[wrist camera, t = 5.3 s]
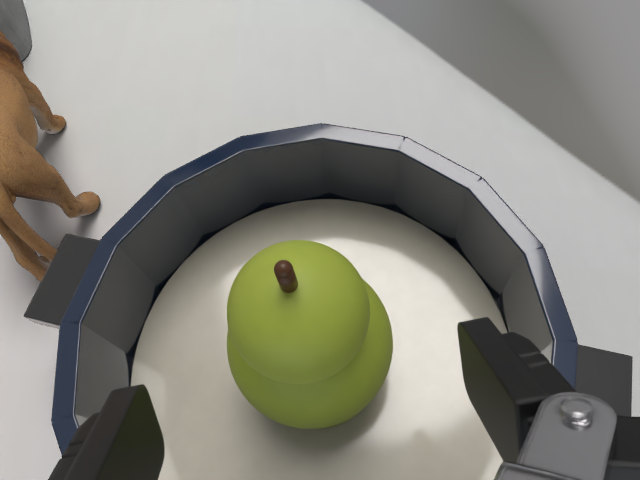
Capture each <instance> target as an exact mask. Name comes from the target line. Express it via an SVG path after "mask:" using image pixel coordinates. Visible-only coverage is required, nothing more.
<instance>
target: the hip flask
mask: <svg viewBox="0 0 640 480" xmlns="http://www.w3.org/2000/svg"><path fill="white" fill-rule="evenodd" d="M0 31H1V32H2V33H3V34H4V35H5V36H6V39H7V40H9V41H10V42H11V43H12V44H13V46H14V47H15V49H16V50H17V52H18V53H19V56H20V60H21V61H22V60H24V59H25V58H26V56H27V55H28V53H29V52H30V49H31V36H30V29H29V23H28V18H27V15H26V11H25V7H24V4H23V1H22V0H0Z"/></svg>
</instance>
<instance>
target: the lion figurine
mask: <svg viewBox="0 0 640 480" xmlns="http://www.w3.org/2000/svg"><path fill="white" fill-rule="evenodd" d="M23 68H24V67H23V64H22V62H21V60H20V56H19V53H18V52H17V50H16V49H15V47H14V46H13V44H12V43H11V42H10V41H9V40H7V39H6V36H5V35H4V34H3V33H2V32H1V31H0V234H1V236H2V237H3V238H4V239H5V241H6V242H7V244H8V245H9V247H10V248H11V250H12V252H13V254H14V256H15V259H16V261H17V262H18V263H19V264H20V265H21V266H22V267H23V268H25V269H26V270H28V271H29V272H31V273H32V274H33V275H34V276H35V277H36V279H37V280H39V281H42V279H43V277H44V275H45V273H46V271H47V269H48V267H49V266H50V264H51V262H52V260H53V258H54V256H55V254H56V252H57V250H56V249H55V248H53V247H52V246H51V245H50V244H48V243H47V242H46V241H45V240H44V239H42V238H41V237H40V236H39V235H38V234H37V233H36V232H35V231H34V230H33V229H32V228H31V227H30V226H29V225H28V224H27V223H26V222H25V221H24V220H23V218H22V217H21V216H20V214H19V213H18V212H17V211H16V209H15V208H14V205H13V204H14V202H15V201H16V197H23V198H28V199H34V200H40V201H46V202H51V203H54V204H56V205H58V206H60V207H61V208H62V210H63V211H64V213H65V214H66V215H67V216H68V217H69V218H75V217H79V216H84V215H89V214H92V213H93V212H95V211H96V210H97V208H98V206H99V204H100V199H99V196H98V195H96V194H95V193H93V192H83V193H81V194H80V195H78V196H77V197H75V196H74V195H73V194H72V193H71V191H70V190H69V188H68V187H67V185H66V183H65V182H64V180H63V179H62V177H61V176H60V174H59V173H58V172H57V171H56V169H55V168H54V167H53V166H51V165H50V164H48V163H47V161H46V160H45V159H44V158H43V157H42V155H41V154H40V153H39V152H38V151H37V150H35V147H36V144H37V141H38V135H37V127H36V122H35V118H36V120H37V123H38V125H39V127H40V129H42V130H44V131H45V132H46V133H48V134H56V133H58V132H60V131H61V130H62V129H63V128H64V126H65V123H66V122H65V119H64V118H63V117H62V116H58V115H53V114H52V112H51V110H50V108H49V106H48V104H47V103H46V101H45V99H44V98H43V96H42V94H41V92H40V90H39V89H38V88H37V86H36V85H34V84H33V83H32V82H31V81H29V79H28V77H27V76H26V74H25V73H24V71H23ZM34 117H35V118H34ZM35 251H36V252H38V253H39V254H41V255H42V256H40V257H39V256H38V255H37V253H36V252H35Z"/></svg>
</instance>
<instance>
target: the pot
mask: <svg viewBox="0 0 640 480" xmlns="http://www.w3.org/2000/svg"><path fill="white" fill-rule="evenodd" d="M290 240H307V241H314V242H318V243H321V244H324V245H326V246H329V247H331V248H332V249H334V250H336V251H338V252H339V253H340V254H342V255H343V256H344V257H346V258H347V259H348V260H349V261H350V262H351V263H352V265H353V266H354V267H355V268H356V270H357V271H358V273H359V274H360V276H361V278H362V279H364V280H365V281H366V282H367V283H368V284H369V285H370V286H371V287H372V289H373V290H374V291H375V292H376V294H377V295H378V297H379V298H380V300H381V302H382V303H383V305H384V307H385V309H386V311H387V314H388V316H389V320H390V324H391V329H392V336H393V353H392V360H391V364H390V368H389V371H388V374H387V376H386V379H385V381H384V383H383V385H382V387H381V389H380V390H379V392H378V393H377V395H376V396H375V397H374V398H373V400H372V401H371V402H370V403H369V404H368V405H367V406H366V407H365V408H364V409H363V410H362V411H360V412H359V413H358V414H357V415H356V416H354V417H353V418H352V419H350V420H348V421H346V422H344V423H342V424H340V425H337V426H334V427H329V428H323V429H300V428H294V427H289V426H286V425H283V424H280V423H278V422H276V421H274V420H272V419H270V418H268V417H266V416H265V415H263V414H262V413H260V412H259V411H258V410H256V409H255V408H254V407H253V406H252V405H251V404H250V403H249V402H248V401H247V399H246V398H245V397H244V396H243V394H242V393H241V391H240V390H239V388H238V386H237V384H236V383H235V381H234V378H233V376H232V373H231V370H230V366H229V362H228V355H227V333H228V323H227V301H228V296H229V293H230V289H231V286H232V284H233V282H234V279H235V278H236V276H237V274H238V272H239V271H240V270H241V268H242V267H243V266H244V265H245V264H246V263H247V262H248V261H249V260H250V259H251V258H252V257H253V256H254V255H255V254H257V253H258V252H260V251H261V250H263V249H265V248H267V247H269V246H271V245H273V244H276V243H279V242H284V241H290ZM543 247H544V246H543V245H542V243H541V242H540V241H539V240H538V239H537V238H536V237H535V236H534V234H533V233H532V232H531V231H530V230H529V229H528V228H527V227H526V225H525V224H524V223H523V222H522V221H521V220H520V219H519V218H518V216H517V215H516V214H515V213H514V212H513V211H512V210H511V209H510V207H509V206H508V205H507V204H506V203H505V202H504V201H503V200H502V198H501V197H500V196H499V195H498V194H497V193H496V192H495V191H494V189H493V188H492V187H491V186H490V185H489V184H488V183H487V182H486V180H485V179H484V178H482V177H481V176H479V175H477V174H475V173H474V172H472V171H470V170H468V169H466V168H464V167H462V166H460V165H459V164H457V163H455V162H453V161H451V160H449V159H447V158H445V157H444V156H442V155H440V154H438V153H436V152H434V151H432V150H430V149H428V148H427V147H425V146H423V145H421V144H419V143H417V142H415V141H413V140H412V139H410V138H408V137H405V136H400V135H393V134H387V133H381V132H374V131H368V130H362V129H355V128H349V127H343V126H336V125H330V124H322V123H320V124H314V125H308V126H301V127H295V128H289V129H283V130H277V131H271V132H264V133H258V134H252V135H246V136H241V137H238V138H236V139H234V140H232V141H230V142H228V143H226V144H224V145H222V146H220V147H218V148H216V149H215V150H213V151H211V152H209V153H207V154H205V155H203V156H201V157H199V158H197V159H195V160H193V161H191V162H189V163H187V164H185V165H183V166H181V167H179V168H177V169H175V170H173V171H171V172H169V173H167V174H165V176H163V177H162V178H161V179H160V180H159V181H158V182H157V183H156V184H155V185H154V186H153V187H152V188H151V189H150V190H149V191H148V192H147V193H146V194H145V195H144V196H143V197H142V198H141V199H140V200H139V201H138V202H137V203H136V204H135V205H134V206H133V207H132V208H131V209H130V210H129V211H128V212H127V213H126V214H125V215H124V216H123V217H122V218H121V219H120V220H119V221H118V222H117V223H116V224H115V225H114V226H113V227H112V228H111V229H110V230H109V231H108V232H107V233H106V234H105V235H104V236H103V237H102V239H101V240H100V241H99V240H95V239H90V238H85V237H81V236H76V235H72V234H66V235H65V237H64V238H63V240H62V242H61V244H60V246H59V248H58V250H57V252H56V254H55V256H54V258H53V260H52V262H51V264H50V266H49V267H48V269H47V271H46V273H45V275H44V277H43V279H42V281H41V283H40V285H39V287H38V289H37V291H36V293H35V295H34V296H33V298H32V300H31V302H30V304H29V306H28V308H27V310H26V312H25V314H24V317H25V318H27V319H29V320H31V321H32V322H34V323H37V324H41V325H45V326H49V327H53V328H57V329H60V330H59V341H58V352H57V363H56V374H55V385H54V396H53V408H52V419H51V422H52V426H53V429H54V432H55V435H56V438H57V441H58V445H59V448H60V451H61V454H62V455H63V453H64V451H65V449H66V448H67V447H68V446H69V443H70V441H71V439H72V437H73V436H74V434H75V432H76V430H77V429H78V428H79V427H80V426H81V425H82V424H83V423H84V422H85V421H86V420H87V419H88V418H89V417H90V416H92V415H93V414H95V413H100V411H101V409H102V407H103V405H104V404H105V402H106V400H107V398H108V396H109V394H110V393H111V391H112V390H115V389H120V388H125V387H130V386H135V385H140V384H143V385H145V386H146V388H147V390H148V392H149V395H150V398H151V401H152V404H153V407H154V410H155V413H156V416H157V419H158V422H159V425H160V428H161V431H162V434H163V438H164V446H165V456H164V462H163V465H162V468H161V471H160V474H159V478H158V480H494V478H495V475H496V473H497V471H498V469H499V467H500V465H501V463H502V462H503V460H502V458H501V456H500V454H499V452H498V451H497V449H496V447H495V445H494V443H493V442H492V440H491V438H490V436H489V434H488V432H487V431H486V429H485V427H484V425H483V423H482V422H481V420H480V418H479V416H478V414H477V412H476V411H475V409H474V407H473V405H472V403H471V401H470V399H469V397H468V394H467V391H466V388H465V384H464V379H463V372H462V364H461V356H460V348H459V340H458V331H457V325H458V323H459V322H463V321H468V320H473V319H478V318H483V317H488V318H489V319H490V320H491V321H492V322H493V324H494V325H495V326H496V327H497V328H498V330H499V331H500V332H501V333H502V334H504V333H509V332H515V333H517V334H519V335H521V336H523V337H525V338H527V339H530V340H531V341H532V342H533V343H534V344H535V346H536V347H537V348H538V349H539V350H540V351H541V354H544V356H545V357H546V358H547V359H548V360H549V362H550V363H552V365H553V366H554V367H555V368H556V369H557V370H558V371H559V372H560V373H561V375H562V376H563V377H564V378H565V379H566V380H567V381H568V382H569V384H570V385H571V386H572V387H573V388H574V389H575V390H576V391H577V392H578V393H585V394H589V395H592V396H595V397H598V398H600V399H602V400H603V401H605V402H607V403H608V404H609V405H610V406H611V407H612V408H613V409H614V411H615V413H616V415H620V416H629V417H631V401H632V356H628V355H624V354H619V353H615V352H610V351H605V350H601V349H596V348H592V347H587V346H582V345H578V342H577V337H576V334H575V331H574V329H573V326H572V323H571V320H570V317H569V315H568V312H567V309H566V306H565V304H564V301H563V298H562V295H561V292H560V290H559V287H558V284H557V281H556V278H555V276H554V273H553V270H552V267H551V264H550V262H549V259H548V256H547V253H546V251H545V248H543ZM493 298H494V299H493ZM494 300H495V301H496V302H497V305H496V303H495V301H494ZM497 306H498V307H497Z"/></svg>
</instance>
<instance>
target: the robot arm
mask: <svg viewBox="0 0 640 480" xmlns="http://www.w3.org/2000/svg"><path fill="white" fill-rule="evenodd" d="M457 331H458V340H459V348H460V356H461V364H462V372H463V379H464V384H465V388H466V391H467V394H468V397H469V399H470V401H471V403H472V405H473V407H474V409H475V411H476V412H477V414H478V416H479V418H480V420H481V422H482V423H483V425H484V427H485V429H486V431H487V432H488V434H489V436H490V438H491V440H492V442H493V443H494V445H495V447H496V449H497V451H498V452H499V454H500V456H501V458H502V460H503V462H502V463H501V465H500V467H499V469H498V471H497V473H496V475H495V478H494V480H640V417H629V416H620V415H616V413H615V411H614V409H613V408H612V407H611V406H610V405H609V404H608V403H607V402H605V401H603V400H602V399H600V398H598V397H595V396H592V395H589V394H585V393H578V392H577V391H576V390H575V389H574V388H573V387H572V386H571V385H570V384H569V382H568V381H567V380H566V379H565V378H564V377H563V376H562V375H561V373H560V372H559V371H558V370H557V369H556V368H555V367H554V366H553V365H552V363H550V362H549V360H548V359H547V358H546V357H545V356H544V354H541V351H540V350H539V349H538V348H537V347H536V346H535V344H534V343H533V342H532V341H531V340H530V339H527V338H525V337H523V336H521V335H519V334H517V333H515V332H509V333H504V334H502V333H501V332H500V331H499V330H498V328H497V327H496V326H495V325H494V324H493V322H492V321H491V320H490V319H489V318H488V317H483V318H478V319H473V320H468V321H463V322H459V323H458V325H457ZM164 456H165V446H164V438H163V434H162V431H161V428H160V425H159V422H158V419H157V416H156V413H155V410H154V407H153V404H152V401H151V398H150V395H149V392H148V390H147V388H146V386H145V385H143V384H140V385H135V386H130V387H125V388H120V389H115V390H112V391H111V393H110V394H109V396H108V398H107V400H106V402H105V404H104V405H103V407H102V409H101V411H100V413H95V414H93V415H92V416H90V417H89V418H88V419H87V420H86V421H85V422H84V423H83V424H82V425H81V426H80V427H79V428H78V429H77V430H76V432H75V434H74V436H73V437H72V439H71V441H70V443H69V446H68V447H67V448H66V449H65V451H64V453H63V455H62V459H60V460H59V462H58V463H57V465H56V467H55V469H54V470H53V472H52V474H51V475H50V477H49V479H48V480H158V478H159V474H160V471H161V468H162V465H163V462H164Z"/></svg>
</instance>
